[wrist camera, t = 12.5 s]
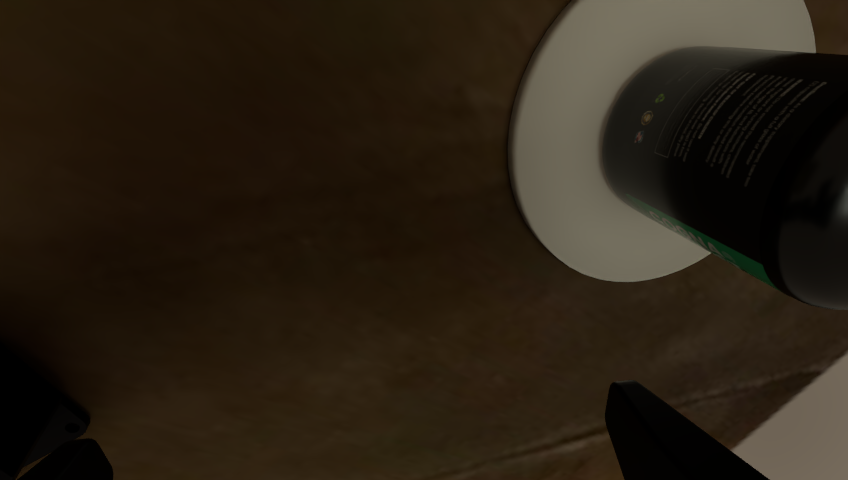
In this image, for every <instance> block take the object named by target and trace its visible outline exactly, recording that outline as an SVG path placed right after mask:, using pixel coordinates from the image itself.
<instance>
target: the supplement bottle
mask: <svg viewBox="0 0 848 480" xmlns="http://www.w3.org/2000/svg"><path fill="white" fill-rule="evenodd" d="M602 158H603V166H604V170H605V174H606V177H607V180H608V182H609V184H610V186H611V188H612V189H613V191H614V192H615V194H616V195H617V196H618V197H619V198H620V199H621V200H622V201H623V202H624V203H626V204H627V205H628V206H630V207H631V208H633V209H634V210H636V211H638V212H640V213H641V214H643V215H644V216H646V217H648V218H650V219H652V220H653V221H655V222H657V223H659V224H661V225H662V226H664V227H666V228H668V229H669V230H671V231H673V232H675V233H677V234H678V235H680V236H682V237H684V238H686V239H687V240H689V241H691V242H693V243H695V244H696V245H698V246H700V247H702V248H703V249H705V250H707V251H709V252H711V253H712V254H714V255H716V256H718V257H720V258H721V259H723V260H725V261H727V262H729V263H730V264H732V265H734V266H736V267H737V268H739V269H741V270H743V271H745V272H746V273H748V274H750V275H752V276H754V277H755V278H757V279H759V280H761V281H763V282H764V283H766V284H768V285H770V286H772V287H773V288H775V289H777V290H779V291H781V292H782V293H784V294H786V295H788V296H791V297H793V298H794V299H796V300H798V301H801V302H803V303H806V304H809V305H812V306H815V307H821V308H827V309H842V310H848V55H836V54H821V53H807V52H792V51H777V50H762V49H747V48H732V47H713V46H695V47H687V48H683V49H679V50H676V51H673V52H670V53H668V54H666V55H664V56H662V57H660V58H658V59H656V60H655V61H653V62H652V63H650V64H649V65H648V66H646V67H645V68H644V69H643V70H641V71H640V72H639V73H638V74H637V75H636V76H635V77H634V78H633V79H632V80H631V81H630V83H629V84H628V85H627V86H626V87H625V89H624V90H623V92H622V93H621V94H620V96H619V98H618V99H617V101H616V103H615V105H614V107H613V109H612V111H611V113H610V116H609V118H608V121H607V124H606V128H605V132H604V138H603V147H602Z"/></svg>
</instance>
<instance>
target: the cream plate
mask: <svg viewBox="0 0 848 480" xmlns="http://www.w3.org/2000/svg"><path fill="white" fill-rule="evenodd" d="M695 46H713V47H732V48H747V49H762V50H777V51H792V52H807V53H816V49H815V39H814V33H813V29H812V24H811V20H810V16H809V13H808V11H807V8H806V6H805V3H804V1H803V0H572V1H571V2H570V3H569V4H568V5H567V6H566V7H565V8H564V9H563V10H562V11H561V13H560V14H559V15H558V17H557V18H556V19H555V20H554V22H553V23H552V24H551V26H550V27H549V28H548V30H547V31H546V33H545V34H544V36H543V38H542V39H541V41H540V43H539V44H538V46H537V48H536V49H535V51H534V53H533V54H532V57H531V59H530V61H529V63H528V65H527V68H526V70H525V72H524V74H523V76H522V79H521V82H520V85H519V88H518V91H517V94H516V97H515V100H514V105H513V110H512V114H511V119H510V124H509V135H508V146H507V148H508V170H509V176H510V182H511V188H512V191H513V194H514V197H515V201H516V204H517V207H518V209H519V211H520V213H521V215H522V217H523V219H524V221H525V223H526V224H527V226H528V227H529V229H530V230H531V231H532V233H533V234H534V236H535V237H536V238H537V239H538V240H539V241H540V242H541V243H542V244H543V245H544V246H545V247H546V248H547V249H548V250H549V251H550V252H551V253H552V254H553V255H555V256H556V257H557V258H558V259H559V260H561V261H562V262H564V263H565V264H566V265H568V266H569V267H571V268H573V269H575V270H577V271H578V272H580V273H582V274H585V275H588V276H591V277H594V278H597V279H601V280H608V281H614V282H634V281H642V280H649V279H653V278H658V277H662V276H665V275H668V274H671V273H673V272H676V271H679V270H682V269H684V268H686V267H688V266H690V265H692V264H694V263H696V262H698V261H699V260H701V259H703V258H704V257H706V256H707V255H709V254H711V252H709V251H707V250H705V249H703V248H702V247H700V246H698V245H696V244H695V243H693V242H691V241H689V240H687V239H686V238H684V237H682V236H680V235H678V234H677V233H675V232H673V231H671V230H669V229H668V228H666V227H664V226H662V225H661V224H659V223H657V222H655V221H653V220H652V219H650V218H648V217H646V216H644V215H643V214H641V213H640V212H638V211H636V210H634V209H633V208H631V207H630V206H628V205H627V204H626V203H624V202H623V201H622V200H621V199H620V198H619V197H618V196H617V195H616V194H615V192H614V191H613V189H612V188H611V186H610V184H609V182H608V180H607V177H606V174H605V170H604V166H603V158H602V147H603V138H604V132H605V128H606V124H607V121H608V118H609V116H610V113H611V111H612V109H613V107H614V105H615V103H616V101H617V99H618V98H619V96H620V94H621V93H622V92H623V90H624V89H625V87H626V86H627V85H628V84H629V83H630V81H631V80H632V79H633V78H634V77H635V76H636V75H637V74H638V73H639V72H640V71H641V70H643V69H644V68H645V67H646V66H648V65H649V64H650V63H652V62H653V61H655V60H656V59H658V58H660V57H662V56H664V55H666V54H668V53H670V52H673V51H676V50H679V49H683V48H687V47H695Z"/></svg>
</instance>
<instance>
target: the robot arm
mask: <svg viewBox="0 0 848 480" xmlns="http://www.w3.org/2000/svg"><path fill="white" fill-rule="evenodd" d="M605 421H606V426H607V429H608V432H609V435H610V438H611V441H612V444H613V447H614V450H615V453H616V456H617V459H618V462H619V465H620V468H621V471H622V474H623V476H624V479H625V480H769V479H768V478H766V477H765V476H764V475H762V474H761V473H760V472H758V471H757V470H756V469H754V468H753V467H752V466H750V465H749V464H748V463H746V462H745V461H744V460H742V459H741V458H739V457H738V456H737V455H736V454H734V453H733V452H732V451H730V450H729V449H727V448H726V447H725V446H723V445H722V444H721V443H719V442H718V441H717V440H715V439H714V438H713V437H711V436H710V435H709V434H707V433H706V432H705V431H703V430H702V429H701V428H699V427H698V426H697V425H695V424H694V423H692V422H691V421H690V420H688V419H687V418H686V417H684V416H683V415H682V414H680V413H679V412H678V411H676V410H675V409H674V408H672V407H671V406H670V405H668V404H667V403H666V402H664V401H663V400H661V399H660V398H659V397H657V396H656V395H655V394H653V393H652V392H651V391H649V390H648V389H647V388H645V387H644V386H643V385H641V384H640V383H638V382H636V381H634V380H627V381H618V382H613V383H612V384H611V385H610V388H609V393H608V399H607V405H606V411H605ZM70 423H75V424H77V425H78V426H76V425H72V424H70ZM89 424H90V418H89V416H88V415H87V414H86V413H84V412H83V411H82V410H81V409H80V408H78V407H77V406H76V405H75V404H74V403H72V402H71V401H70V400H69V399H68V398H66V397H65V396H64V395H63V394H62V393H60V392H59V391H58V390H57V389H55V388H54V387H53V386H52V385H51V384H49V383H48V382H47V381H46V380H45V379H43V378H42V377H41V376H40V375H39V374H37V373H36V372H35V371H34V370H33V369H31V368H30V367H29V366H28V365H26V364H25V363H24V362H23V361H22V360H20V359H19V358H18V357H17V356H16V355H14V354H13V353H12V352H11V351H10V350H8V349H7V348H6V347H5V346H4V345H2V344H1V343H0V480H15V479H16V478H17V476H18V474H19V473H20V471H21V469H22V468H23V467H25V466H27V465H29V464H30V463H32V462H34V461H36V460H38V459H39V458H41V457H43V456H45V455H47V454H49V453H50V452H51V453H50V454H49V455H48V456H46V457H45V458H44V459H43V460H42V461H40V462H39V463H38V464H37V465H35V466H34V467H33V468H32V469H30V470H29V471H28V472H27V473H25V474H24V475H23V476H22V477H20V478H19V479H18V480H113V469H112V466H111V464H110V463H109V461H108V459H107V458H106V456H105V454H104V453H103V451H102V449H101V448H100V446H99V444H98V443H97V442H96V441H95V440H93V439H90V438H87V439H78V440H74V439H76V438H78V437H80V436H81V435H83V434H84V433H85V432H86V430H87V428H88V426H89ZM52 451H53V452H52Z"/></svg>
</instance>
